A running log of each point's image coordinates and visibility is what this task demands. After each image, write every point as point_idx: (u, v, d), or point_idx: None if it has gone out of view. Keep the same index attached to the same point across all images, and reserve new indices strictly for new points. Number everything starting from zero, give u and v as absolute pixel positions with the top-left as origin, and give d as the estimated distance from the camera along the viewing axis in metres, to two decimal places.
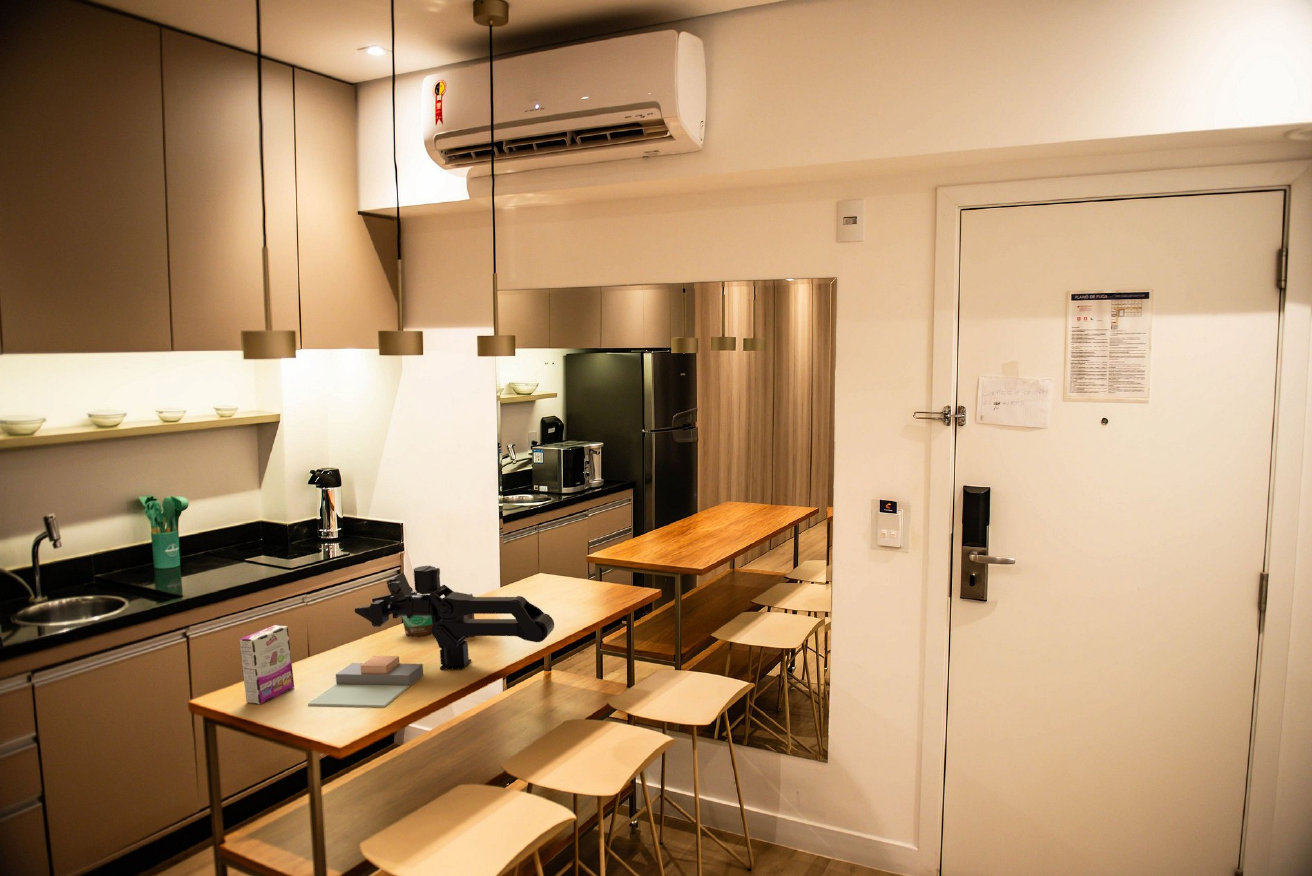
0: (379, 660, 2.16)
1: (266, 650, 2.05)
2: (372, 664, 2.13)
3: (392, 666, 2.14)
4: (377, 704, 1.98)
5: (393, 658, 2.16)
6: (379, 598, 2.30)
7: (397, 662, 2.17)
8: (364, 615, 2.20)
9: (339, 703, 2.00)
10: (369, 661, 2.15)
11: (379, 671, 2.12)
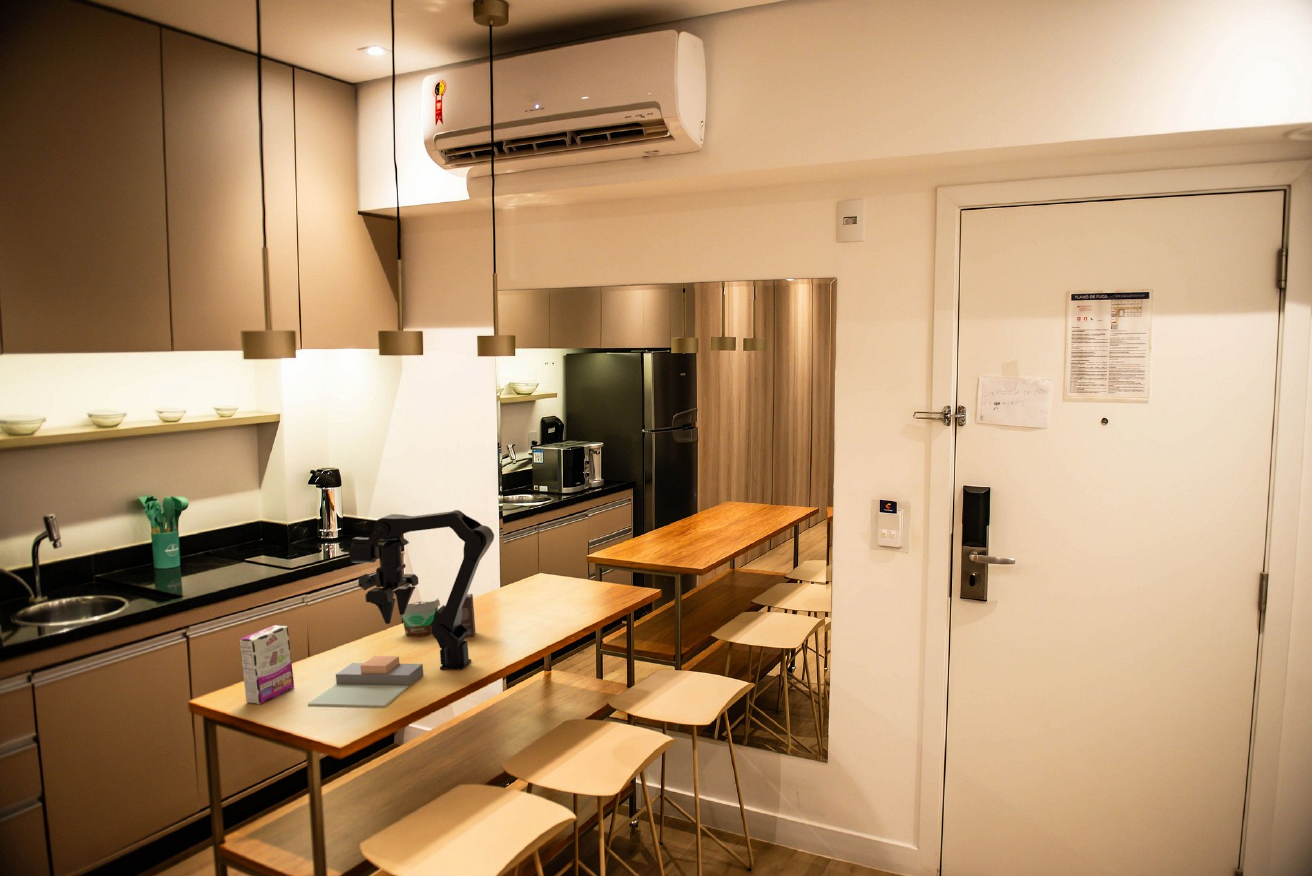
0: (379, 660, 2.16)
1: (266, 650, 2.05)
2: (372, 664, 2.13)
3: (392, 666, 2.14)
4: (377, 704, 1.98)
5: (393, 658, 2.16)
6: (399, 606, 2.27)
7: (397, 662, 2.17)
8: (388, 612, 2.18)
9: (339, 703, 2.00)
10: (369, 661, 2.15)
11: (379, 671, 2.12)
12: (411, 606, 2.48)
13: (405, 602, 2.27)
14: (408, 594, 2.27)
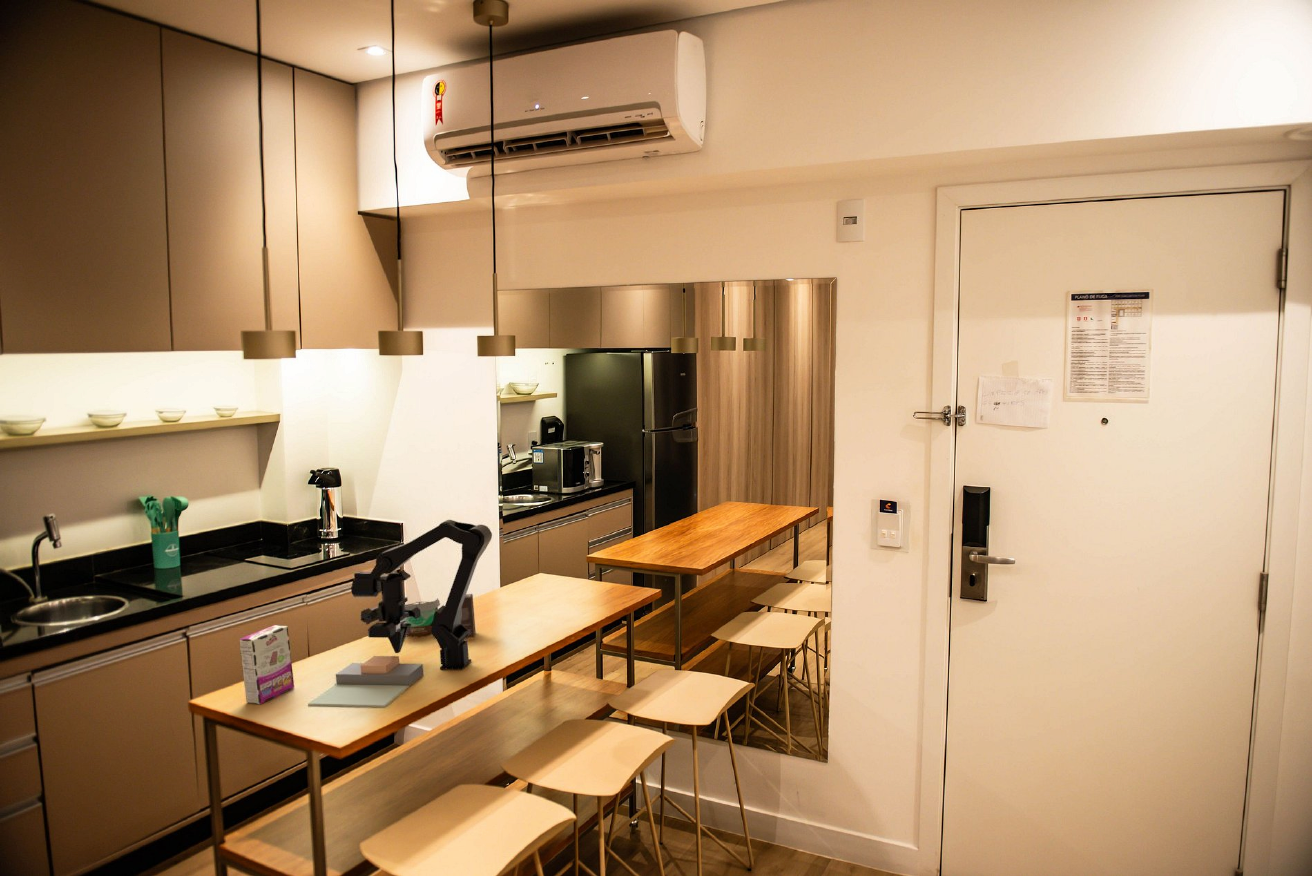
0: (379, 660, 2.16)
1: (266, 650, 2.05)
2: (372, 664, 2.13)
3: (392, 666, 2.14)
4: (377, 704, 1.98)
5: (393, 658, 2.16)
6: None
7: (397, 662, 2.17)
8: (397, 642, 2.23)
9: (339, 703, 2.00)
10: (369, 661, 2.15)
11: (379, 671, 2.12)
12: (411, 606, 2.48)
13: None
14: (404, 631, 2.24)
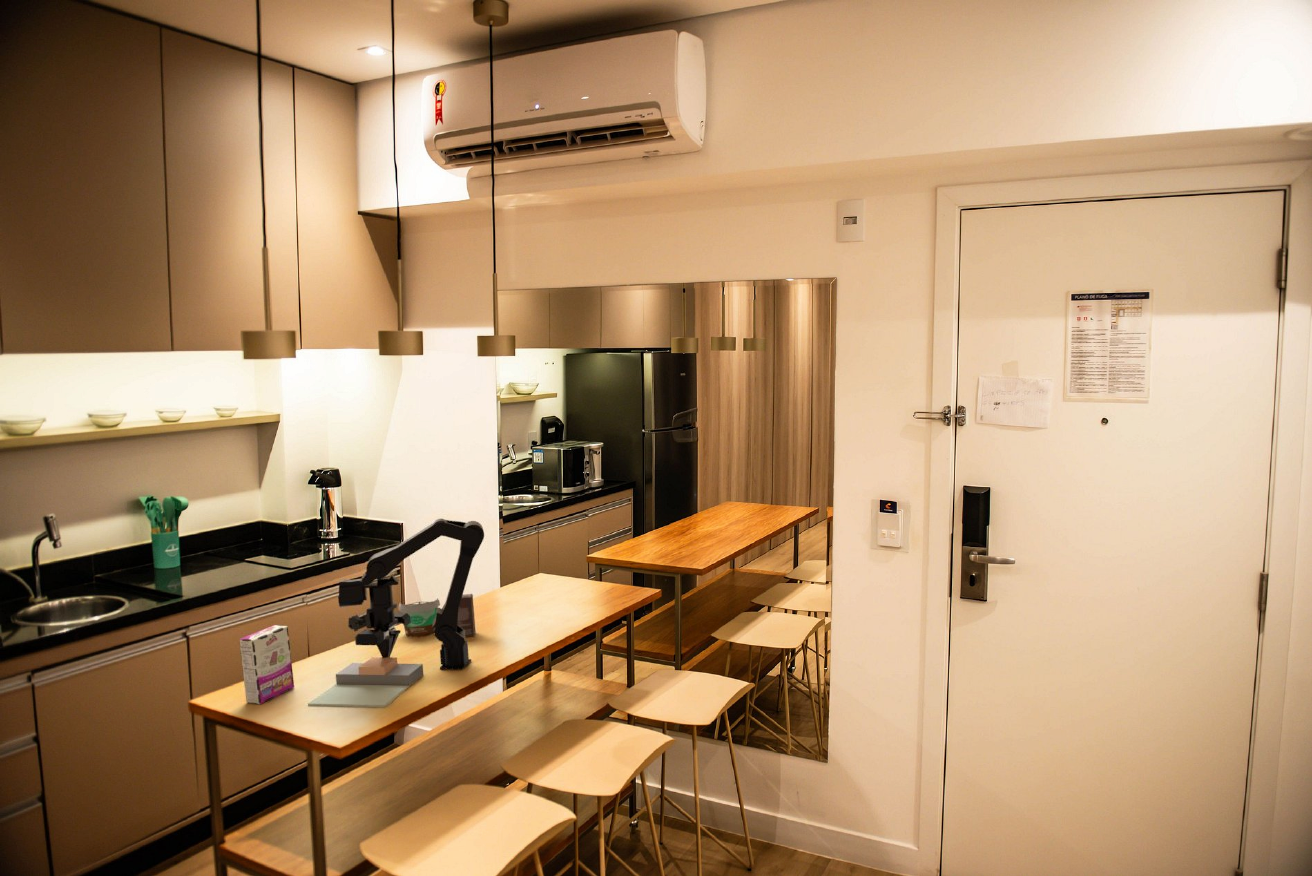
0: (377, 661, 2.15)
1: (266, 650, 2.05)
2: (370, 665, 2.12)
3: (390, 667, 2.13)
4: (377, 704, 1.98)
5: (391, 659, 2.15)
6: None
7: (396, 663, 2.16)
8: (386, 650, 2.17)
9: (339, 703, 2.00)
10: (367, 662, 2.14)
11: (377, 672, 2.11)
12: (411, 606, 2.48)
13: None
14: (392, 639, 2.18)
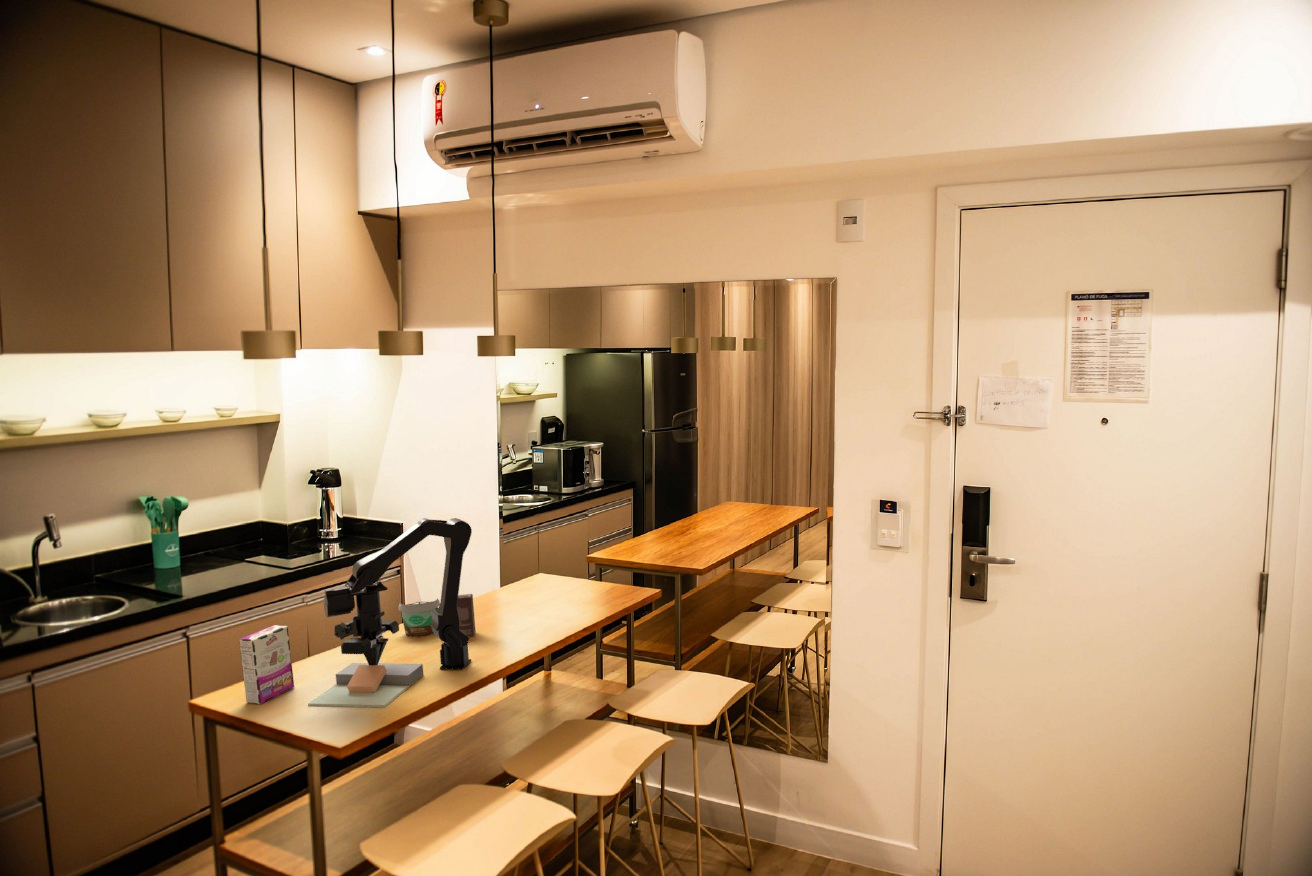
0: (365, 674, 2.09)
1: (266, 650, 2.05)
2: (358, 683, 2.06)
3: (379, 680, 2.08)
4: (377, 704, 1.98)
5: (379, 670, 2.09)
6: None
7: (384, 671, 2.10)
8: (373, 658, 2.10)
9: (339, 703, 2.00)
10: (355, 677, 2.08)
11: (367, 690, 2.05)
12: (411, 606, 2.48)
13: (377, 656, 2.12)
14: (380, 647, 2.12)
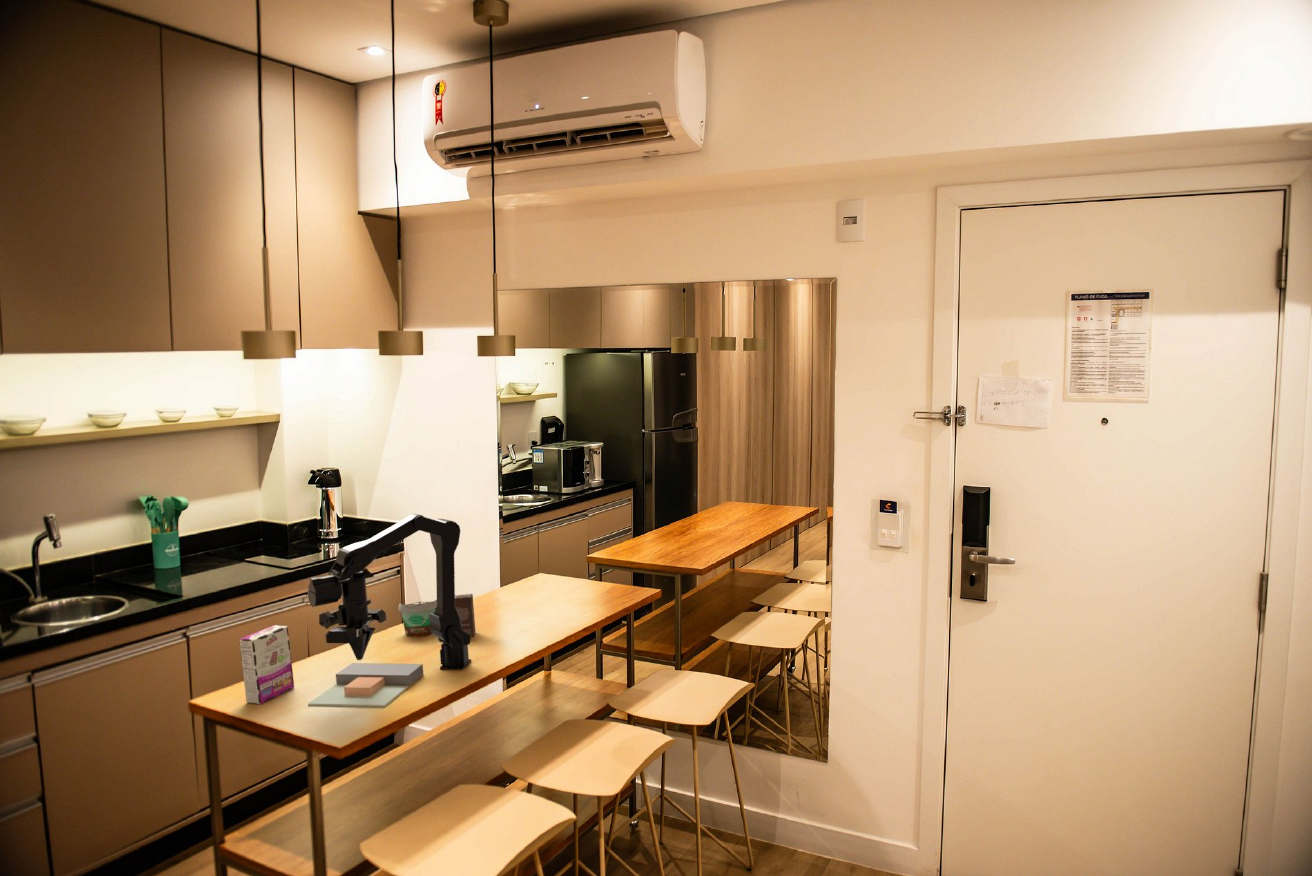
0: (364, 681, 2.08)
1: (266, 650, 2.05)
2: (356, 686, 2.05)
3: (377, 688, 2.07)
4: (377, 704, 1.98)
5: (378, 679, 2.09)
6: None
7: (383, 683, 2.10)
8: (359, 648, 2.04)
9: (339, 703, 2.00)
10: (353, 682, 2.07)
11: (363, 693, 2.04)
12: (411, 606, 2.48)
13: None
14: (366, 637, 2.06)
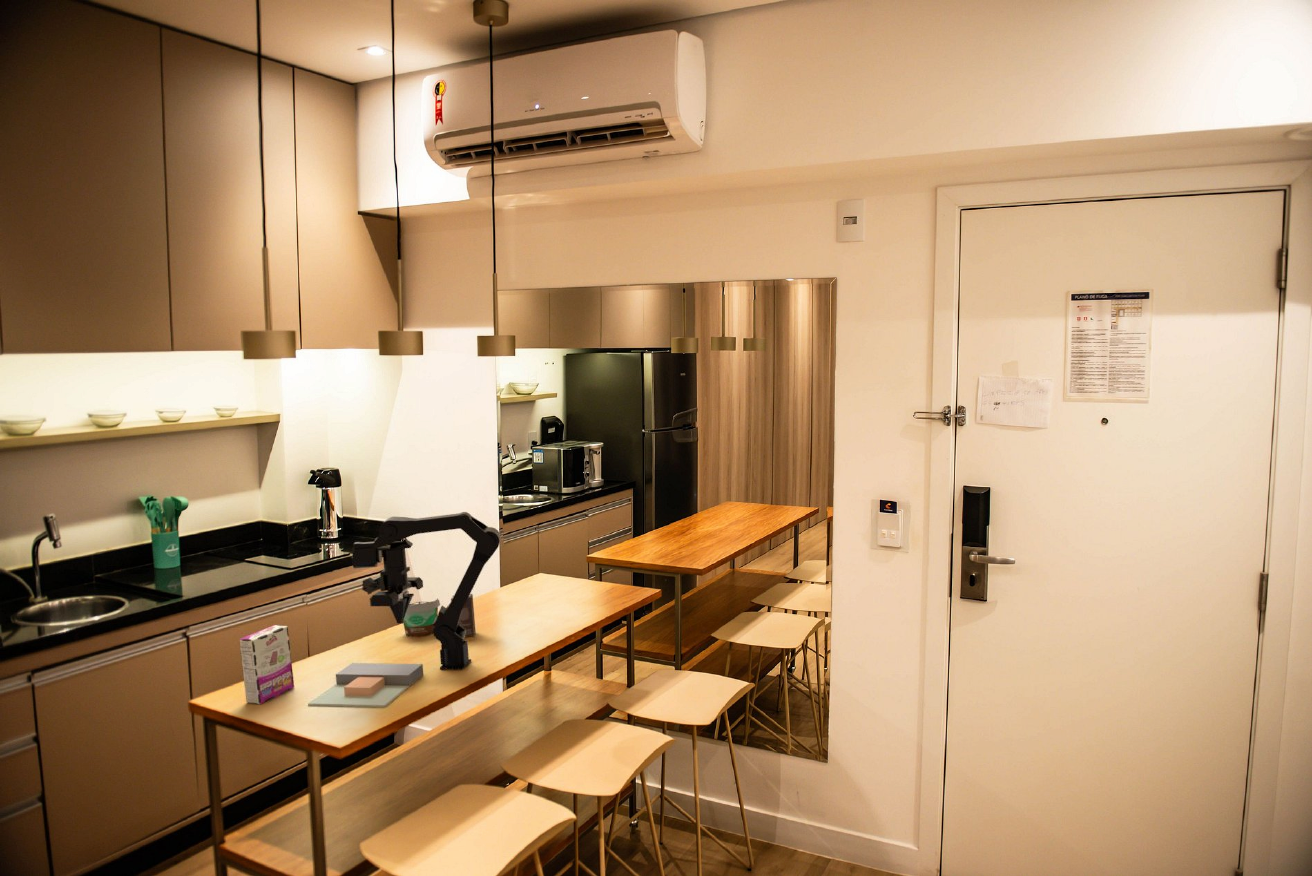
0: (364, 681, 2.08)
1: (266, 650, 2.05)
2: (356, 686, 2.05)
3: (377, 688, 2.07)
4: (377, 704, 1.98)
5: (378, 679, 2.09)
6: None
7: (383, 683, 2.10)
8: (400, 612, 2.18)
9: (339, 703, 2.00)
10: (353, 682, 2.07)
11: (363, 693, 2.04)
12: (411, 606, 2.48)
13: None
14: (406, 601, 2.20)
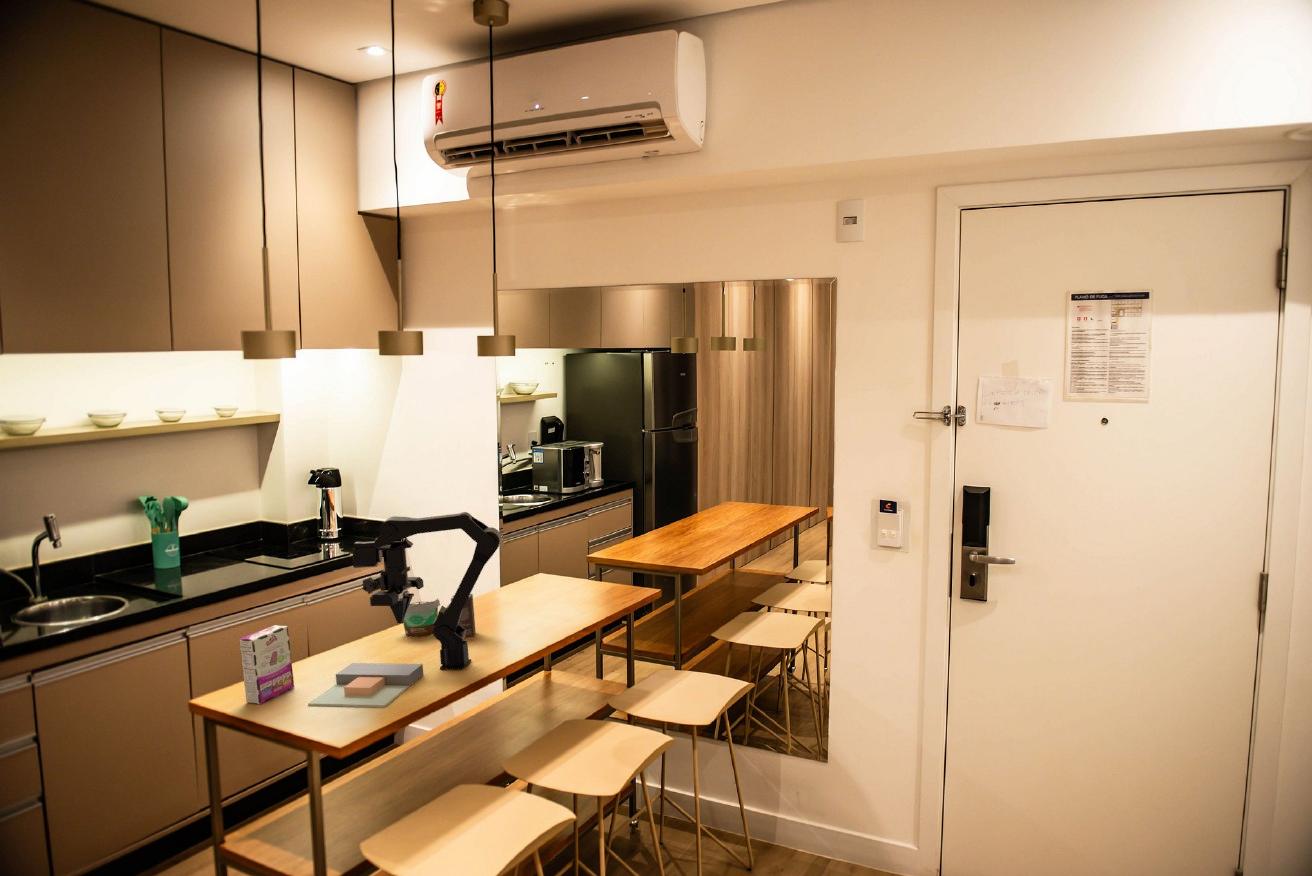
0: (364, 681, 2.08)
1: (266, 650, 2.05)
2: (356, 686, 2.05)
3: (377, 688, 2.07)
4: (377, 704, 1.98)
5: (378, 679, 2.09)
6: None
7: (383, 683, 2.10)
8: (400, 612, 2.18)
9: (339, 703, 2.00)
10: (353, 682, 2.07)
11: (363, 693, 2.04)
12: (411, 606, 2.48)
13: None
14: (406, 601, 2.20)
